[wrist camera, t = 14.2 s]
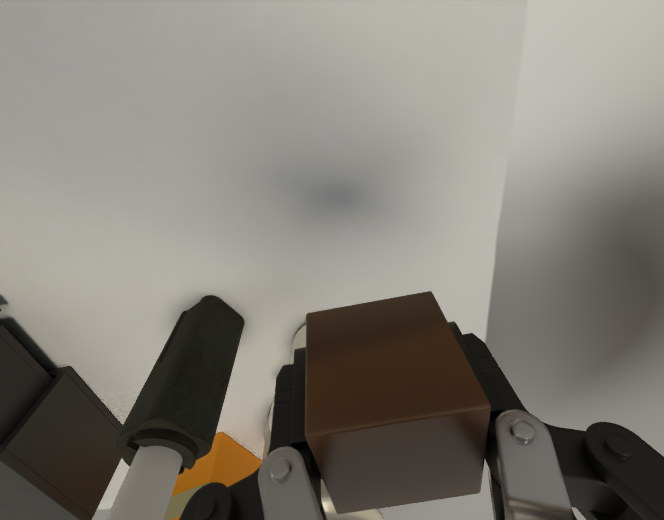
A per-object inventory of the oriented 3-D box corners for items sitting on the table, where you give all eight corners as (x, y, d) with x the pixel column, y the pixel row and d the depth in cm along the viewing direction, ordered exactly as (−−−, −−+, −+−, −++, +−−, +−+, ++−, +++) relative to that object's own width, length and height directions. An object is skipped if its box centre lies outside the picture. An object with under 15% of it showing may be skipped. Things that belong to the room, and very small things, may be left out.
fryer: (-30, 382, 36) (-132, 477, 28) (70, 366, 35) (-3, 458, 27) (47, 449, 43) (-16, 541, 35) (131, 436, 42) (88, 526, 34)
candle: (214, 345, 35) (56, 798, 13) (175, 317, 32) (-88, 807, 11) (249, 322, 33) (135, 788, 12) (211, 291, 31) (-12, 795, 10)
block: (305, 312, 12) (304, 436, 8) (431, 290, 11) (493, 406, 8) (328, 391, 14) (336, 516, 10) (433, 373, 14) (481, 494, 10)
